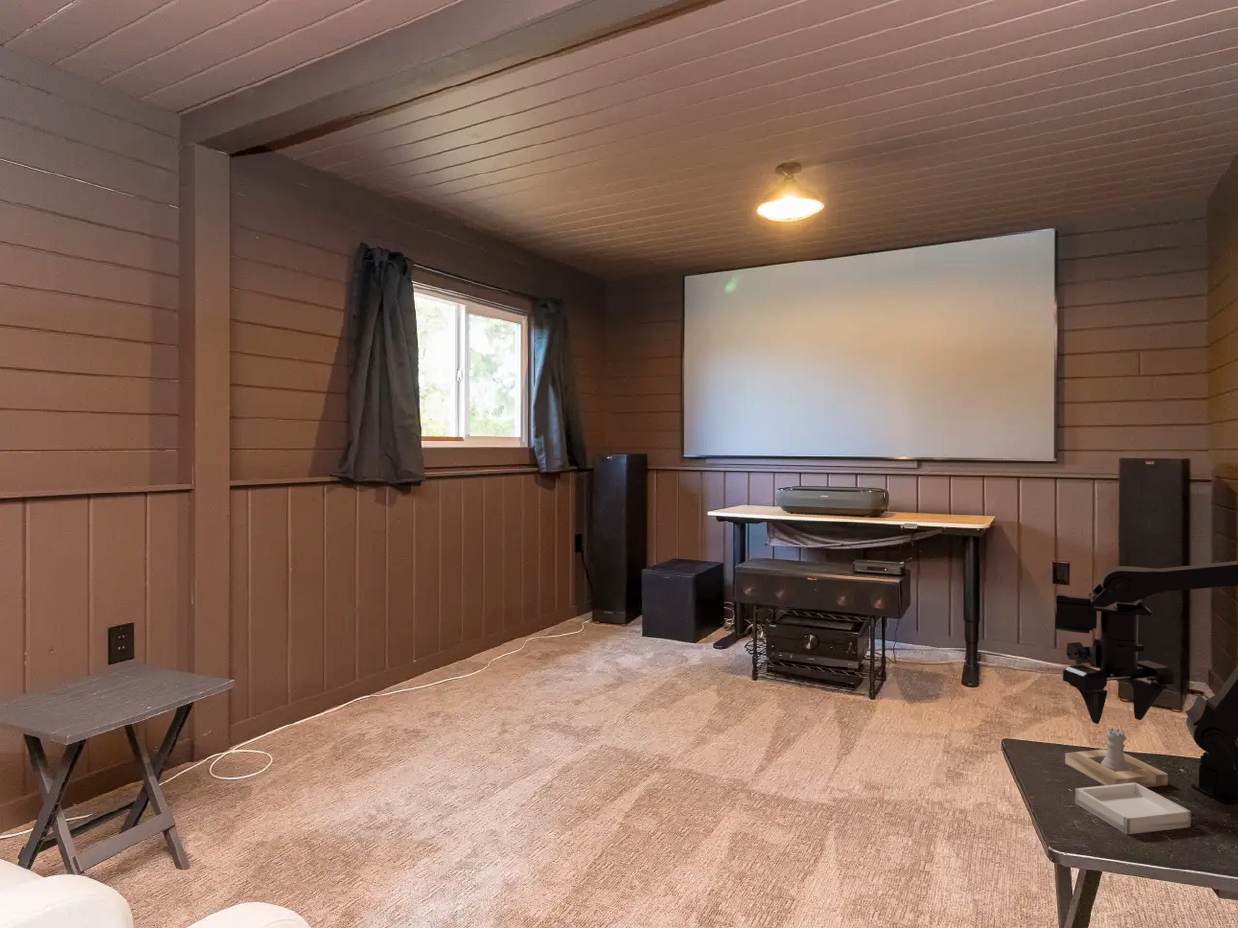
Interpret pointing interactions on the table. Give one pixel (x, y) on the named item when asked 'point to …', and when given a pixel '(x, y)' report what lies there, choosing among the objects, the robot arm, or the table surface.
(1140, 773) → the socket block
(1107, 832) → the table surface
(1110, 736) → the rook chess piece
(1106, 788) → the tray
